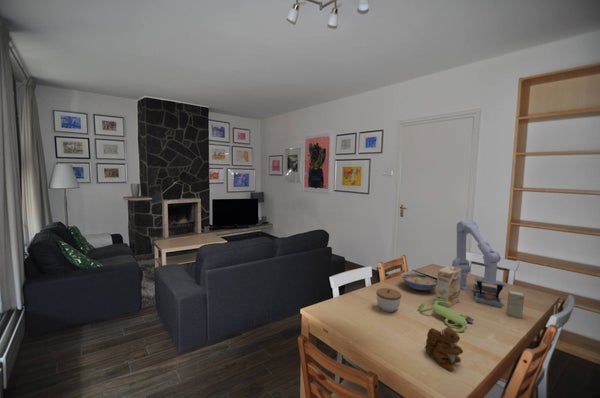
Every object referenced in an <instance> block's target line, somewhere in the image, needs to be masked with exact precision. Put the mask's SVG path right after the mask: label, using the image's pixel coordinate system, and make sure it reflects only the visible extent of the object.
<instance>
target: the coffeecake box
mask: <svg viewBox="0 0 600 398" xmlns="http://www.w3.org/2000/svg"><path fill="white" fill-rule="evenodd" d="M437 278H438V281H437V286H436V297H435V298H439V299H445V300H447V301H449V304H448V305H446V304H443V303H437V304H438V305H441V306H444V307H446V308H448V309H450V307H452V306H454V305H456V304H457V303H458V302H460V294H461V293H460V291H461V288H460V281H461V268H457V267H453V266H452V265H448V266H446V267H443V268H440V269H438V270H437ZM435 301H439V300H435ZM444 302H445V301H444Z"/></svg>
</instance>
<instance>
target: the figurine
mask: <svg viewBox="0 0 600 398" xmlns="http://www.w3.org/2000/svg"><path fill="white" fill-rule="evenodd" d="M431 299H432V300H433V301H434V304H433V305H432V306H430V307H427V308H424V307H425V303H423V302H422V303H421V304H419V306H418V308H417V310H416V311H417V312H420V313H426V312H428V311H432V310H435V311H436V312H437V313H438V314H439V315H441V316H443V318H445V319H444V323H445V324H446V325H448V326H461V328H460V329H453V328H452V329H453V330H454V331H455V332H456V333H457V334H459V333H463V332H464V331H466V325H468V323H470V324H473V322H474V320H475V319H473V318H472V317H470V316H468V315H466V314H463V313H457V311H454V310H452V309H450V308H447V307H444V306H441V305H439V304H437V303H443V304H446V305H448V304H449V301H447V300H445V299H439V298H436V297H432V298H431ZM436 300H439V301H436ZM444 301H445V302H444ZM449 321H451V322H453V323H454V324H453V323H449ZM448 326H447V327H448Z"/></svg>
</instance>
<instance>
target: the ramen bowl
mask: <svg viewBox="0 0 600 398" xmlns="http://www.w3.org/2000/svg"><path fill="white" fill-rule="evenodd" d="M400 276H401V278H402V280H403V282H404V283H405V284H406V285H407V286H408V287H409V288H412V289H414V290H416V291H419V292H420V291H421V292H422V291H430V290H432V289H434V288H435V287H436V288H437V281H438V276H435V275H434V274H429V273H426V272H422V271H417V270H414V269H412V271H405V272H402V273H401V274H400Z"/></svg>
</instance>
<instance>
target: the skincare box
mask: <svg viewBox="0 0 600 398" xmlns="http://www.w3.org/2000/svg"><path fill="white" fill-rule="evenodd" d="M524 304H525V294H524V293H523V292H518V291H512V290H508V293H507V302H506V311H505V313H506V315H507V316H510V317H514V318H518V319H523V311H524Z"/></svg>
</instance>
